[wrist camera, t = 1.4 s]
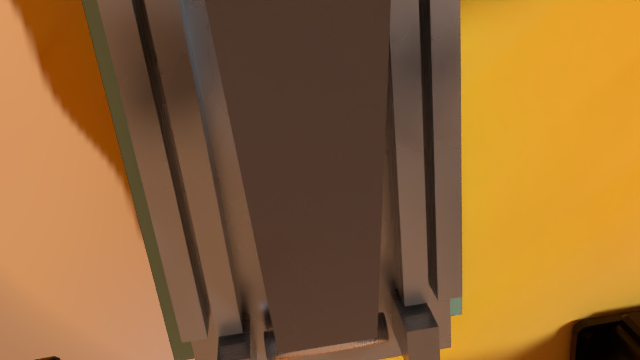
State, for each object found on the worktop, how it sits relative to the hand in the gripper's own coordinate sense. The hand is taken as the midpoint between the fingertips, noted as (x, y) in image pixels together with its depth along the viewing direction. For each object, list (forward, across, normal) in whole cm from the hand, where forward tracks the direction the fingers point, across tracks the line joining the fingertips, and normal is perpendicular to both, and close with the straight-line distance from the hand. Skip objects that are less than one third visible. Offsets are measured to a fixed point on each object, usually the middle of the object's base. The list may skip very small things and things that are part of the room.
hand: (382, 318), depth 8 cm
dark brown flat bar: (+6, 0, +1) cm, 7 cm away
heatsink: (+12, 0, +2) cm, 12 cm away
